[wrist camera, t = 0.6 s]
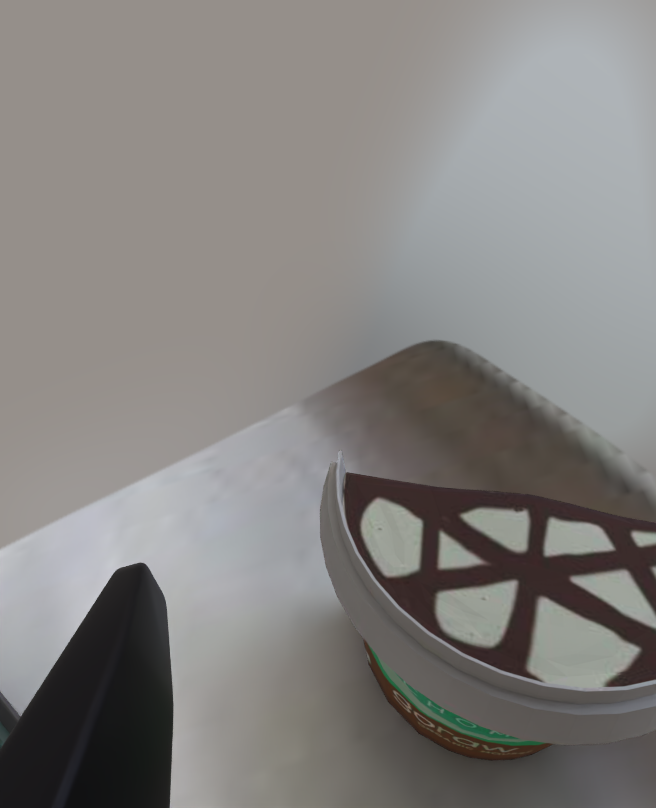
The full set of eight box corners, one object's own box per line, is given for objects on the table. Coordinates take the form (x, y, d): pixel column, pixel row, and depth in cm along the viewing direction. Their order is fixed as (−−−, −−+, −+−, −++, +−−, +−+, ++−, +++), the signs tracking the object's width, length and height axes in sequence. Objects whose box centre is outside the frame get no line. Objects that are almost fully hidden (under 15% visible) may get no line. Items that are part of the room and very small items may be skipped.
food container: (293, 753, 20) (262, 653, 13) (329, 592, 24) (321, 446, 17) (662, 845, 18) (877, 788, 11) (633, 652, 22) (774, 516, 15)
